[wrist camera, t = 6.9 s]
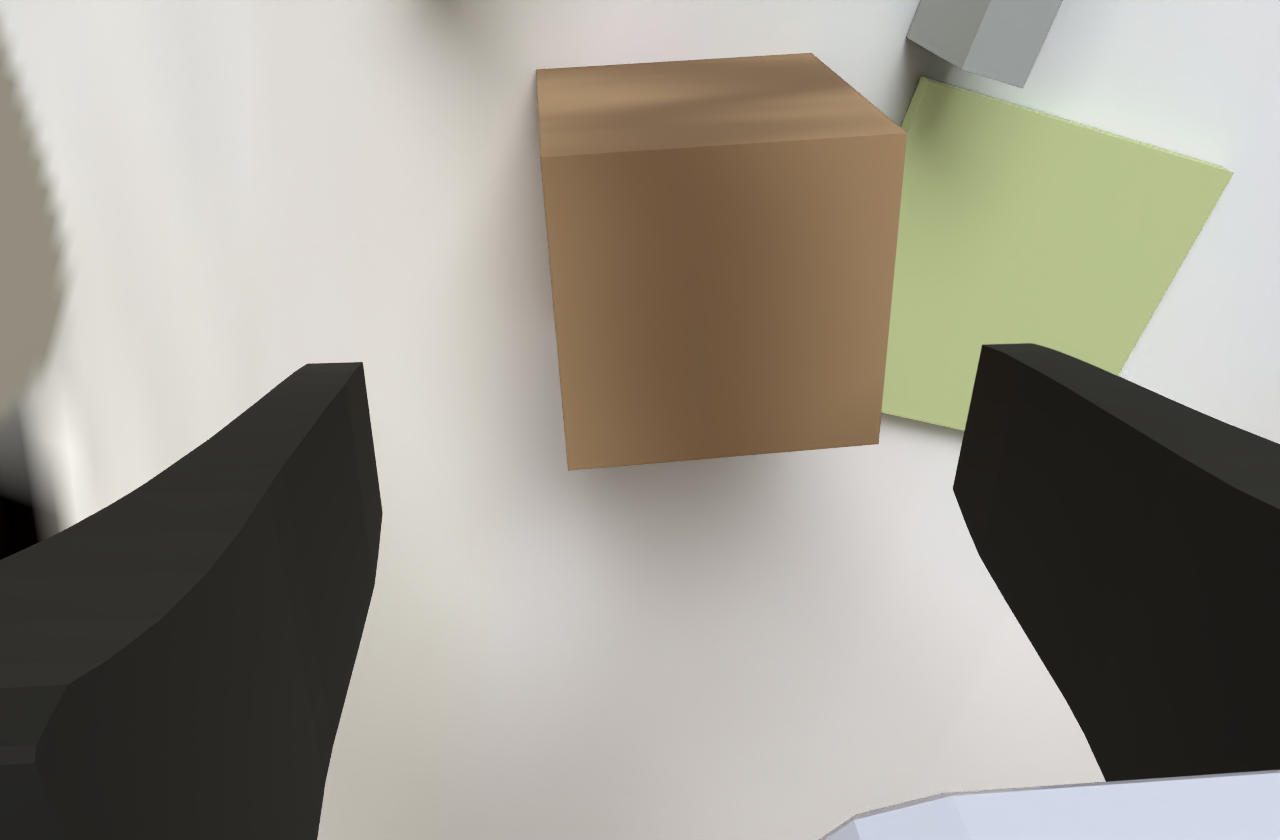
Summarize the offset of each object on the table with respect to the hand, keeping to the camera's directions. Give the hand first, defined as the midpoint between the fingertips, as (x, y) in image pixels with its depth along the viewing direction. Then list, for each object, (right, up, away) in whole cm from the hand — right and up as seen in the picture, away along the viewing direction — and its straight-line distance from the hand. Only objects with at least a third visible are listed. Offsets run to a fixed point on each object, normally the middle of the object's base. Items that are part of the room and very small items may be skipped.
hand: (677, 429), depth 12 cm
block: (0, +4, +6) cm, 7 cm away
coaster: (+6, +3, +7) cm, 10 cm away
